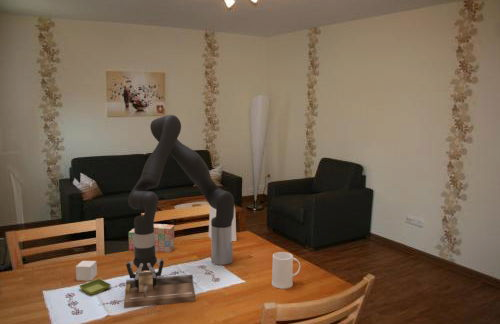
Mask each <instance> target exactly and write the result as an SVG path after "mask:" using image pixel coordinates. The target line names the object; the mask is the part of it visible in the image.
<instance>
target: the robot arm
mask: <svg viewBox="0 0 500 324" xmlns="http://www.w3.org/2000/svg"><path fill="white" fill-rule="evenodd" d="M181 124H182V122H181V121H180V119H179V118H178V117H177V116H176V115H174V114H168V115H164V116H161V117H157V118H155V119H153V120H152V121H150V125H149V126H150V132H151V134H152V136H153V137H154V139H155V140H156V141H157V142H158V143H157V145H156V146H155V148H154V150H152V152H151V154H150V155H149V157H148V158H147V160H146V161H145V163H144V166H143V168H142V172H141V175H140V178H139V179H138V181H137V182H136V184H135V185H134V187H133V188H132V190H131V192H130V193H129V195H128V200H127V202H128V206H129V207H130V208H131V209H132V210H137V211H144V214H142V215H137V216H136V217H134V221H133V227H134V228H133V229H134V250H133V252H134V259H133V260H131V261H129V260H127V262H126V264H125V266H126V269H127V274H128V276H129V278H130V280H132V279H135V286H136V287H137V289H139V275H140V272H151V274H152V275H153V287H155V286H156V277H162V276H161V275H162V271H163V267H164V264H165V260H164V258H161V259H159V258H157V256H156V252H155V235H154V224H155V223H154V221H155V217H156V212H157V208H158V206H159V197H158V195H157V193H155V192H154V191H148V190H150V189H154V188H156V187H158V186H159V184H160V181H161V177H162V174H163V171H164V168H165V166H166V162H167V160H168V159H169V158H168V157H169V156H171V157H173V159H174V160H175V161H176V162H177V164H178V165H179V166H180V167H181V169H182V171H184V173H185V174H186V175H187V176H188V178H189V179H190V180H191V182H193V184H194V185H195V186H196V187H197V188H198V189H199V191H200V192H201V194H202V195H203V197H204V198H205V200H206V201H207V203H208V205H209V207H210V206H211V207H213V208H214V209H216V217H214V218H213V219H212V220H211V239H210V240H211V243H210V244H211V245H210V246H211V247H210V248H211V253H210V256H211V261H210V262H211V263H212V264H214V265H216V266H219V265H220V266H226V265H228V264H233V246H234V245H233V244H234V242H232V220H233V217H234V207H235V198H234V195H233V194H232V193H231V192H230V191H227V190H224V189H222V188H220V187H219V186H218V185H217V184H216V183H215V181H214V180H213V179H212V176H211V173H210V170H209V169H210V168H209V167H208V165H207V163H206V162H205V160H204V159H203V158H202V157H201V155H200V154H199V153H198V152H196V151H195V150H193V149H192V148H190V147H189V146H188V145H185V144H183V143H182V142H181V141H180V140H179V139H178V137H179V136H180V134H181V131H182V125H181ZM156 264H157V265H158V268H157V269H158V270H157V271H156V270H155V267H154V266H155V265H156ZM133 266H135V268H137V269H136V271H135V272H136V273H134V271H133Z"/></svg>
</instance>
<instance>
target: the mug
mask: <svg viewBox="0 0 500 324" xmlns="http://www.w3.org/2000/svg"><path fill="white" fill-rule="evenodd" d="M294 261H295V262H297V263H298V269H297V271H296V272H295V273H294V272H293V268H294V267H293V266H294V265H293V264H294ZM271 266H272V268H271V270H272V271H271V272H272V273H271V274H272V275H271V286H272V287H274V288H276V289H281V290H282V289H283V290H285V289H290V288H291V287H293V278H294V277H295V276H297V275H298V274H299V272H300V270H301V263H300V261H299V259H297V258H295V257H294V256H293V254H292V253H290V252H285V251H278V252H274V253H272V265H271Z"/></svg>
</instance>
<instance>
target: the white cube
mask: <svg viewBox="0 0 500 324" xmlns="http://www.w3.org/2000/svg"><path fill="white" fill-rule="evenodd" d="M97 266H98V265H97V260H81V261H80V262H79V263H77V265H75V277H76V278H75V279H76V281H88V282H91V281H93V280H94V278H95V277H96V276H98V267H97Z"/></svg>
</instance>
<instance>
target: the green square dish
mask: <svg viewBox="0 0 500 324" xmlns="http://www.w3.org/2000/svg"><path fill="white" fill-rule="evenodd" d="M111 286H112V284H111V283H109V282H107V281H105V280H104V279H101V278H97V279H93V280H91V281H88V282H86V283H83V284H80V285H79V286H78V288H79V287H80V289H81V290H82V291H84V292H86V293H88V295H96V294H98V293H100V292H103V291H106V290H108V289H109V288H110V287H111Z"/></svg>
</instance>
